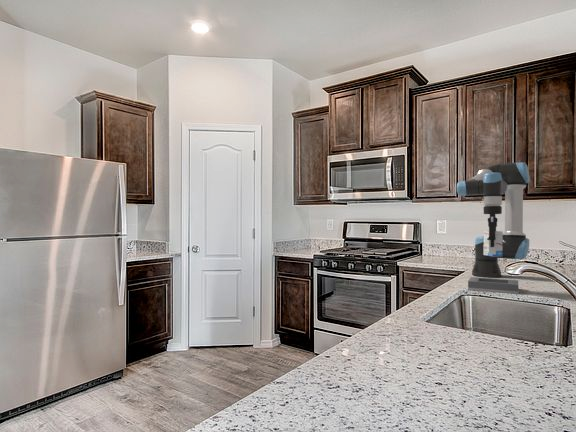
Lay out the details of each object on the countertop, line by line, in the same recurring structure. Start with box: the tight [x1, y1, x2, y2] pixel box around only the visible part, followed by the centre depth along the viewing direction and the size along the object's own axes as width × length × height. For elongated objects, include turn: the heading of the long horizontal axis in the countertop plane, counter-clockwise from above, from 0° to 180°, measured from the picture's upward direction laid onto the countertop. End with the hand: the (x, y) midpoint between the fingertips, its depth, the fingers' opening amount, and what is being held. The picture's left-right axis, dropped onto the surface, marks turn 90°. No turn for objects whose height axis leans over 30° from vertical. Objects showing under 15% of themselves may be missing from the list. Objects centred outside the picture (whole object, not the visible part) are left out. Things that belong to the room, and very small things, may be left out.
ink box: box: [483, 230, 504, 257], centre depth 176 cm, size 9×5×12 cm, turn 179°
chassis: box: [467, 276, 519, 295], centre depth 176 cm, size 14×20×4 cm
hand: (492, 253), depth 176 cm, fingers closed on ink box, 10 cm apart
